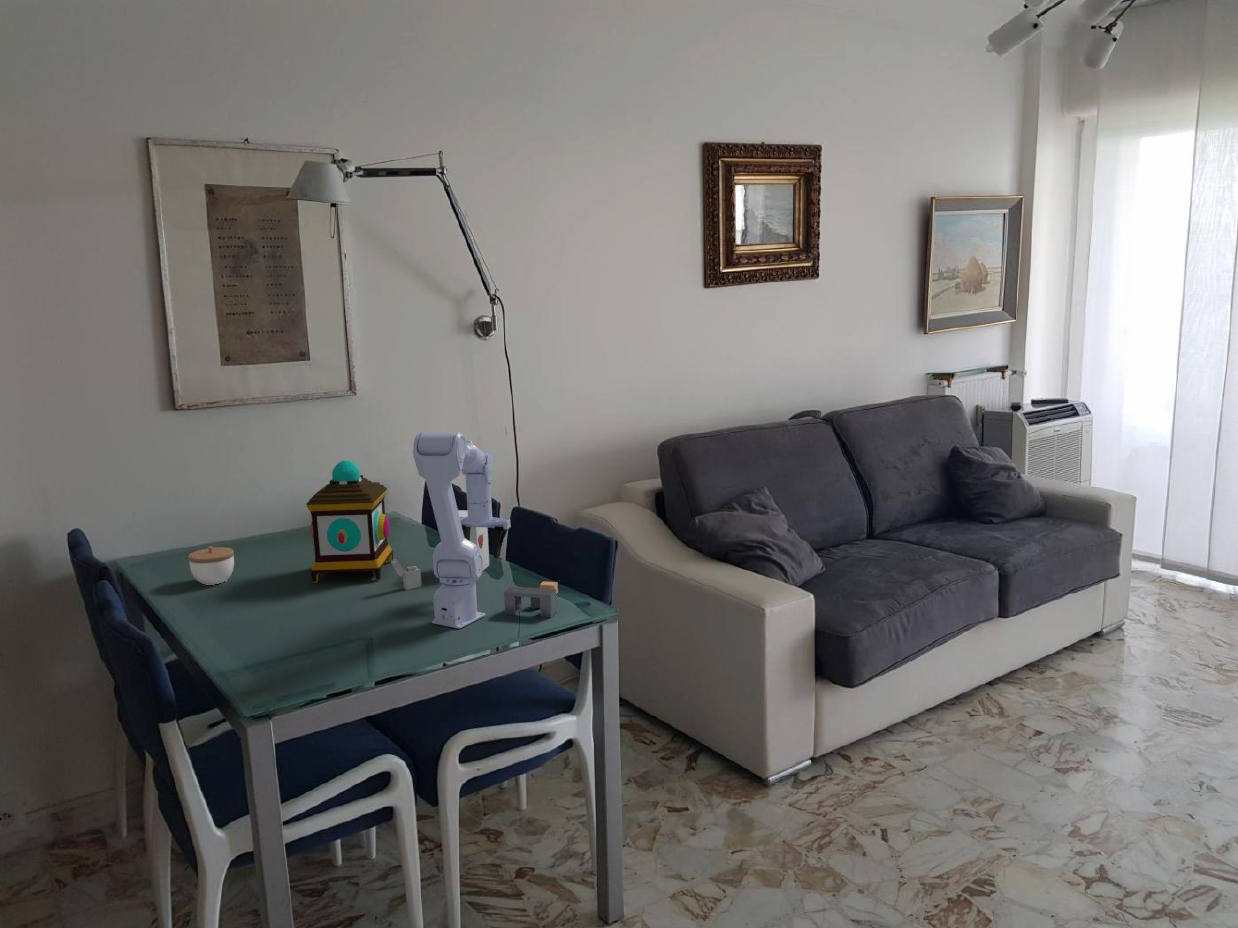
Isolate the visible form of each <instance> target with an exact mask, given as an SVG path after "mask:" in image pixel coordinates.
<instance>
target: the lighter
mask: <svg viewBox="0 0 1238 928" xmlns="http://www.w3.org/2000/svg"><path fill="white" fill-rule="evenodd" d="M390 564H391V566H392V567H393V569H394V570H395V572H396V574H397V575H398V576H399V577H402V582H403V583H402V584H403V589H404V590H407V591H408V590H412V589H416V588H420V587H422V572H421V569H420V568H418V567H417V566H416V565H415V566H414V565H411V566H407V567H406V570H404V568H403V566H402V565H401V564H400V562H399V560H398V559H396V558H393V560H392V561H391V563H390Z"/></svg>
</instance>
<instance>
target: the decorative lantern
mask: <svg viewBox="0 0 1238 928" xmlns="http://www.w3.org/2000/svg"><path fill="white" fill-rule="evenodd" d="M387 490H388V488H387V487H386V486H385V485H383V484H381V483H380V482H378V481H375V482H374V481H371V480H368V478H365V477H364V475H363V474H362V475H361V472H360V468H359V466H357V465H356V463H354V462H353V461H351V460H347V459H343V460H341V461H339V462H338V463H337V464H336V465H335V466H334V467H333V469H332V471H331V480H329V483H328V484H325V486H323V487H321V488H320V489H319V490H318V491H317V492H316V493H314V494H313V495H312V497H311V498H309V500H308V501H307V502H306V503H305V504H306V508H307V509H308V511H309V512H310V515H311V523H310V534H311V537H312V539H313V547H314V549H313V550H314V561H313V564H312V567H311V569H310V576H311V577H310V578H311V581H312V582H313V584H316V583H318V582H319V574H320V573H322V574H323V573H325V574H326V573H350V572H351V573H352V572H372V573H373V575H374V579H375V581H377V582H379V581H380V580H381V575H382V574H381V573H382V568H383V566H384V565H385V564H386V562H387V563H390V564H391V561H392V560H394V551H393V549H392V547H391V546H390V543H389V542H388V537H389V534H390V532H391V531H390V530H391V529H390V528H391V527H390V520H389V517H388V516H387V515H386V509H385V508H386V507H385V497H386V494H387Z"/></svg>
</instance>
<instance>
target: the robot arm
mask: <svg viewBox="0 0 1238 928" xmlns="http://www.w3.org/2000/svg"><path fill="white" fill-rule="evenodd" d="M412 453H413V459H414V462H415V466H416V469H417V473H418V475H419V476H420V477H421V478H423V479H424V480H425V483H426V488H427V491H428V494H429V495H428V496H429V498H430V502H431V507H432V510H433V511H432V512H433V514H434V518H435V522H436V526H437V530H438V534H439V538H440V542H439V543H437V545H436V546H435V548H434V550H433V552H432V553H433V554H432V568H433V569H432V570H433V574H434V575H435V577H436V578H437V579H439V583H440V584H441V585H440V587H439V588H437V589H436V590H435V592H434V594H433V597H432V598H433V612H434V613H433V614H434V619H433V620H432V621H431V623H432V624H435V625H439V626H444V627H450V628H453V629H462V628H463V627H466V626H467V625H469V624H473V622H475V621H478V620H479V619H481V618H484V617H485V616H486V613H485V612H481V611H478V604H477V603H478V602H477V583H476V581H477V580H479V578H480V577H481V576H482V573H483V571H482V569H483V560H482V556H481V554H480V553H479V551H478V548H477V545H476V544H474V543H472V542H471V541H470V530H471V527H487V528H492V530H490V535H491V539H492V546H493V550H492V551H493V559H499V558H500V557H501V551H502V546H503V542H504V540H505V538H506V534H507V533H508V530H509V529H510V528H511V527H512V526H511V519H510V518H509V519H507V518H502V517H501V518H500V517H495V516H493V509H492V508H493V507H492V490H491V489H492V487H491V484H492V483H491V482H492V481H493V480H492V479H493V468H494V460H493V458H494V457H493V455H492V454H491V452H490V453H489V451H486V450H481V449H480V448H479V447H477V446H476V445H474V444H473V442H472V440H466V437H465V435H464V433H462V432H461V431H457V432H424V431H420V432H418V433H416V435H415V437H414V439H413V449H412ZM461 473H462V475H463V476H465V487H466V507H467V510H466V511H468V517H459V513H458V510H459V508H458V505H457V502H456V497H455V492H454V488H453V485H452V481H453V480H455V479H457V478H458V477H459V476H461Z"/></svg>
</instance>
